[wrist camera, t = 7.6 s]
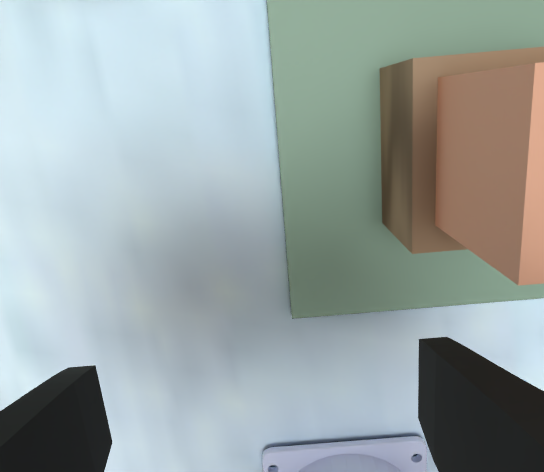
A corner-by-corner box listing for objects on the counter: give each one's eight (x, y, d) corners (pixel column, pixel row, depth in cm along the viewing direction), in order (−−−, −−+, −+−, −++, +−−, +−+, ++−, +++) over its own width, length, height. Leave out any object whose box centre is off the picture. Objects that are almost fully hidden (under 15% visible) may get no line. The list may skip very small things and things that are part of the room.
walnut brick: (528, 210, 19) (596, 238, 15) (382, 222, 19) (412, 254, 15) (540, 54, 17) (621, 39, 13) (379, 68, 17) (412, 58, 13)
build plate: (603, 287, 20) (613, 292, 20) (291, 312, 20) (292, 318, 20) (651, -74, 16) (666, -80, 16) (263, -38, 16) (263, -43, 16)
